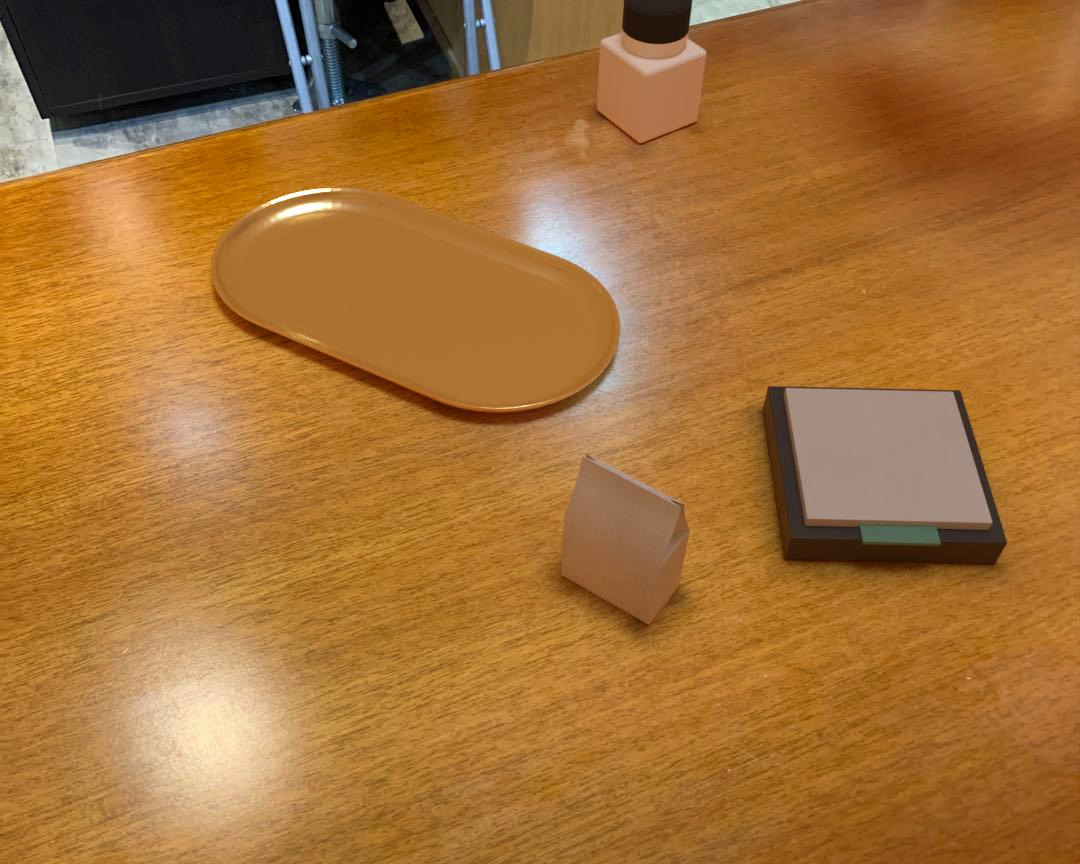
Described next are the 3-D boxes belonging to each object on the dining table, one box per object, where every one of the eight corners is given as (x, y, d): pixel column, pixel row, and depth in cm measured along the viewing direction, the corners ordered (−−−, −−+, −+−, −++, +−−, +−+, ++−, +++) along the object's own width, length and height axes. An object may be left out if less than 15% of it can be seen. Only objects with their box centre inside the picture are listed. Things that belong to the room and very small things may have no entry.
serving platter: (546, 459, 77) (546, 443, 76) (166, 297, 87) (161, 281, 86) (658, 308, 87) (660, 293, 86) (306, 179, 97) (304, 164, 96)
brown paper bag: (649, 625, 69) (665, 527, 61) (561, 575, 71) (566, 474, 63) (678, 586, 71) (698, 486, 63) (592, 538, 73) (600, 436, 65)
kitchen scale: (950, 413, 80) (964, 381, 78) (996, 569, 72) (1013, 540, 69) (762, 408, 81) (769, 377, 78) (785, 564, 72) (794, 535, 69)
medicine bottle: (698, 122, 104) (716, -4, 94) (639, 145, 101) (651, 18, 92) (653, 89, 107) (665, -36, 98) (594, 110, 105) (602, -16, 95)
